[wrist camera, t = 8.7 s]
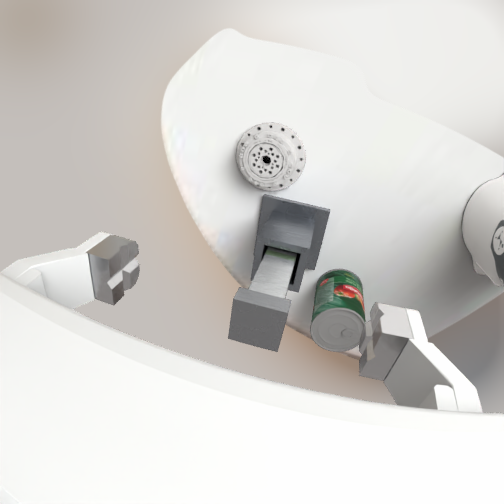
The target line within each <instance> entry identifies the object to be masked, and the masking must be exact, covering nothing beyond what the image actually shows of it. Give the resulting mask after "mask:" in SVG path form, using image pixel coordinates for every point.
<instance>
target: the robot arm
mask: <svg viewBox="0 0 504 504" xmlns="http://www.w3.org/2000/svg"><path fill="white" fill-rule="evenodd" d="M462 232H463V238H464V242H465V244H466V247H467V248H468V250H469V252H470V253H471V255H472V258H473V267H474V270H475V271H476V272H477V273H478V274H479V275H487V276H488V277H489V278H490V279H491V280H492V282H493V283H494V284H495V285H496V286H498V287H499V286H504V174H503V175H502V176H500V177H498V178H496V179H492V180H490V181H488V182H486V183H484V184H483V185H482V186H480V187H479V188H478V189H477V190H476V191H475V193H474V194H473V195H472V197H471V198H470V200H469V202H468V204H467V206H466V209H465V212H464V216H463V222H462ZM138 254H139V251H138V244H137V243H136V241H133V240H129V239H126V238H123V237H119V236H116V235H113V234H109V233H105V232H100V233H98V234H96V235H95V236H93V237H92V238H90V239H88V240H87V241H85V242H84V243H83V244H81V245H79V246H78V247H76V248H75V249H73V248H69V249H64V250H60V251H56V252H51V253H46V254H42V255H38V256H33V257H29V258H25V259H20V260H17V261H16V262H14V263H13V264H11V265H10V266H8V267H7V268H5V269H4V270H3V271H2V272H0V504H504V413H483V412H482V408H481V404H480V401H479V397H478V394H477V390H476V388H475V387H474V386H473V384H472V383H471V382H470V381H469V380H468V379H467V378H466V377H465V376H464V375H463V374H462V373H461V372H460V371H459V370H458V369H457V368H456V367H455V366H454V365H453V364H452V363H451V362H450V361H449V360H448V359H447V358H446V357H445V356H444V355H443V354H442V353H441V351H440V350H439V349H438V348H437V347H435V345H434V344H433V343H429V342H428V340H427V336H426V333H425V329H424V326H423V323H422V319H421V316H420V313H419V311H417V310H413V309H408V308H402V307H397V306H392V305H387V304H382V303H377V302H375V304H374V305H373V307H372V309H371V312H370V317H371V320H370V321H368V322H367V323H365V326H364V328H363V330H362V334H361V337H360V343H359V351H360V352H361V354H362V356H361V358H360V360H359V368H360V376H363V377H368V378H372V379H378V380H383V381H384V383H385V385H386V387H387V388H388V390H389V392H390V393H391V395H392V397H393V398H394V400H395V402H396V403H397V405H392V404H385V403H378V402H372V401H366V400H359V399H354V398H348V397H343V396H338V395H332V394H327V393H322V392H318V391H313V390H308V389H304V388H300V387H295V386H291V385H287V384H283V383H279V382H275V381H271V380H267V379H263V378H259V377H256V376H252V375H248V374H245V373H241V372H238V371H234V370H231V369H228V368H224V367H221V366H218V365H214V364H211V363H208V362H205V361H202V360H199V359H196V358H193V357H190V356H187V355H184V354H181V353H177V352H175V351H172V350H169V349H167V348H164V347H161V346H158V345H156V344H153V343H150V342H148V341H145V340H142V339H140V338H137V337H135V336H132V335H130V334H127V333H124V332H122V331H120V330H117V329H115V328H112V327H110V326H108V325H105V324H103V323H100V322H98V321H96V320H94V319H92V318H89V317H87V316H85V315H83V314H80V313H78V312H76V311H74V310H72V309H74V308H77V307H79V306H82V305H84V304H86V303H88V302H91V301H93V300H95V299H97V300H100V301H103V302H106V303H108V304H111V305H115V304H116V303H117V302H118V301H119V300H120V299H121V298H122V297H123V296H124V290H128V289H131V288H132V287H133V286H134V285H135V283H136V281H137V279H138V276H139V271H140V270H139V263H138V261H137V260H136V256H137V255H138Z"/></svg>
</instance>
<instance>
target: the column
mask: <svg viewBox="0 0 504 504" xmlns="http://www.w3.org/2000/svg"><path fill="white" fill-rule="evenodd" d="M296 257H297V253H296V252H292V251H288V250H284V249H280V248H276V247H272V246H269V247H268V249H267V251H266V253H265V255H264V257H263V260H262V262H261V264H260V266H259V268H258V270H257V272H256V274H255V276H254V279H253V281H252V283H251V285H250V287H249V289H246V288H241V287H239V289H238V291H237V293H236V295H235V297H234V299H233V306H232V313H231V321H230V328H229V336H228V339H232V340H235V341H238V342H242V343H245V344H249V345H253V346H256V347H260V348H264V349H268V350H272V351H276V352H278V348H279V345H280V341H281V338H282V334H283V330H284V327H285V323H286V319H287V316H288V312H289V308H290V304H291V300H288V299H285V298H286V294H287V291H288V287H289V284H290V280H291V276H292V273H293V269H294V265H295V261H296Z"/></svg>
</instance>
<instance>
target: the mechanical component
mask: <svg viewBox="0 0 504 504" xmlns="http://www.w3.org/2000/svg"><path fill="white" fill-rule="evenodd" d="M271 126H272V128H271ZM259 127H260V128H261V130H259ZM282 128H284V129H285V130H284V131H282ZM249 134H250V135H249ZM292 136H294V138H293V137H292ZM264 142H265V143H264ZM242 143H244V145H243V144H242ZM261 143H262V144H261ZM299 145H300V146H301V149H300V148H298V146H299ZM261 148H263V149H261ZM271 148H273V149H271ZM266 150H267V151H266ZM278 155H279V157H278ZM267 156H269V157H270V159H271V161H270V160H268V159H267ZM236 157H237V165H238V167H239V170H240V172H241V173H242V175H243V176H244V178H245V179H246V180H247V181H248V182H249V183H251V184H252V185H254V186H255V187H257V188H260V189H263V190H269V191H277V190H280V189H284V188H287V187H289V186H290V185H292V184H293V183H294V182H296V180H297V179H298V178H299V177H300V175H301V174H302V171H303V169H304V166H305V162H306V152H305V148H304V145H303V143H302V140H301V139H300V138H299V136H298V135H297V134H296V132H294V131H293V130H291V129H290V128H289V127H287V126H285V125H282V124H279V123H273V122H272V123H262V124H259V125H256V126H254V127H252V128H251V129H249V130H248V131H247V132H246V133H245V134H244V135H243V136H242V138H241V140H240V142H239V144H238V146H237V153H236ZM263 157H265V160H266V161H268V162H269V164H266V163H264V162H263ZM301 158H302V159H303V160H301ZM275 160H276V161H275ZM278 165H279V166H278ZM282 168H283V169H282ZM281 169H282V170H281ZM297 169H299V170H300V172H299V171H297ZM291 179H292V180H291ZM281 184H282V185H283V186H281Z"/></svg>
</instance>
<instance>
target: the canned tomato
mask: <svg viewBox="0 0 504 504" xmlns="http://www.w3.org/2000/svg"><path fill="white" fill-rule="evenodd" d="M364 326H365V311H364V299H363V288H362V283H361V281H360V279H359V277H358V276H357V275H356V274H354V273H353V272H351V271H349V270H345V269H333V270H330V271H328V272H326V273H325V274H323V275H322V276H321V277H320V279H319V280H318V282H317V285H316V293H315V301H314V309H313V315H312V323H311V327H310V333H311V337H312V339H313V340H314V342H315V343H316V344H317V345H318V346H320V347H321V348H323V349H326V350H328V351H333V352H342V351H347V350H350V349H353V348H355V347H356V346H358V345H359V343H360V337H361V334H362V330H363V328H364Z"/></svg>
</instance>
